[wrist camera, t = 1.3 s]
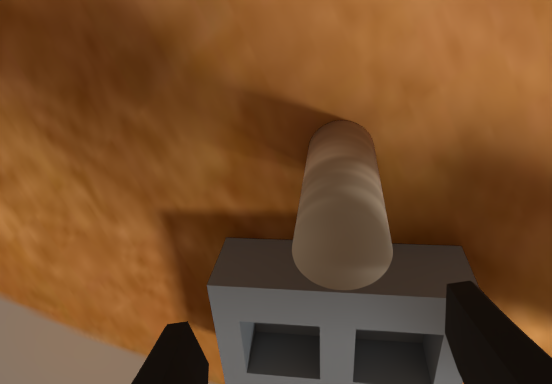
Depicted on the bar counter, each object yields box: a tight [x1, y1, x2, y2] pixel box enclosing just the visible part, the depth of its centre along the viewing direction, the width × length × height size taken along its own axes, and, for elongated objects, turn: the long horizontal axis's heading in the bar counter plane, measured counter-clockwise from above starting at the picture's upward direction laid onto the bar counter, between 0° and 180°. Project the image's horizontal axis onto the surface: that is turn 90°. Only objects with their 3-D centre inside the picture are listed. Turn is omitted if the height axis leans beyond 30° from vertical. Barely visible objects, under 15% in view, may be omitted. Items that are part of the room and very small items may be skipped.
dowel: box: [292, 120, 393, 290], centre depth 16 cm, size 3×3×8 cm
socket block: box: [207, 238, 480, 384], centre depth 23 cm, size 13×9×4 cm
